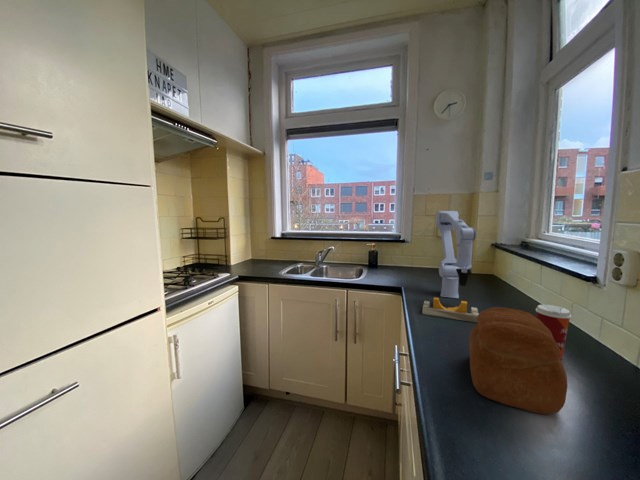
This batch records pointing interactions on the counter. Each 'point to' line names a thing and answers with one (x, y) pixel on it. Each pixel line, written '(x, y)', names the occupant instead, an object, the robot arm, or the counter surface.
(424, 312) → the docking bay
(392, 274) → the counter surface
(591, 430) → the counter surface
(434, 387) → the counter surface
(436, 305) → the pipe clamp
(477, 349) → the bread
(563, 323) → the paper cup
